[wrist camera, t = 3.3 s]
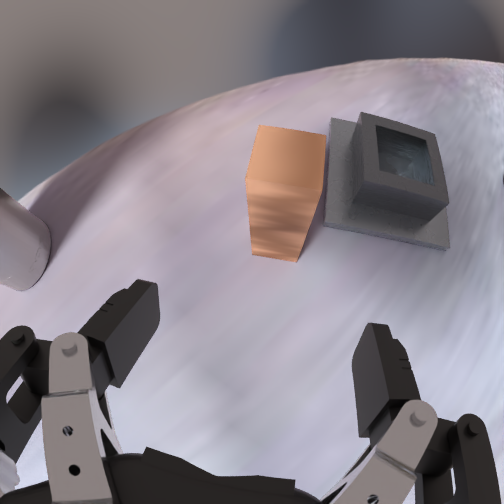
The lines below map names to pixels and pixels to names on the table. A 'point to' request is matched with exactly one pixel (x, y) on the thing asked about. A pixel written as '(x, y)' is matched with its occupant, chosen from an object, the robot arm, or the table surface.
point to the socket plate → (386, 182)
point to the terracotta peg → (283, 189)
